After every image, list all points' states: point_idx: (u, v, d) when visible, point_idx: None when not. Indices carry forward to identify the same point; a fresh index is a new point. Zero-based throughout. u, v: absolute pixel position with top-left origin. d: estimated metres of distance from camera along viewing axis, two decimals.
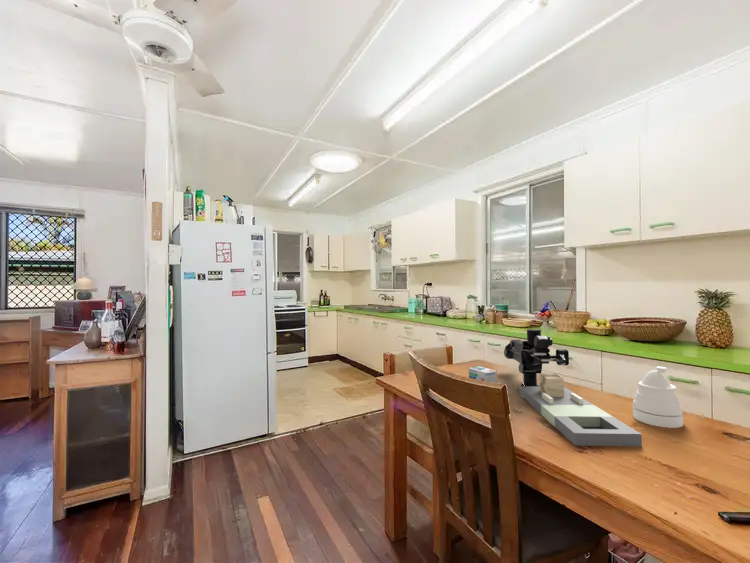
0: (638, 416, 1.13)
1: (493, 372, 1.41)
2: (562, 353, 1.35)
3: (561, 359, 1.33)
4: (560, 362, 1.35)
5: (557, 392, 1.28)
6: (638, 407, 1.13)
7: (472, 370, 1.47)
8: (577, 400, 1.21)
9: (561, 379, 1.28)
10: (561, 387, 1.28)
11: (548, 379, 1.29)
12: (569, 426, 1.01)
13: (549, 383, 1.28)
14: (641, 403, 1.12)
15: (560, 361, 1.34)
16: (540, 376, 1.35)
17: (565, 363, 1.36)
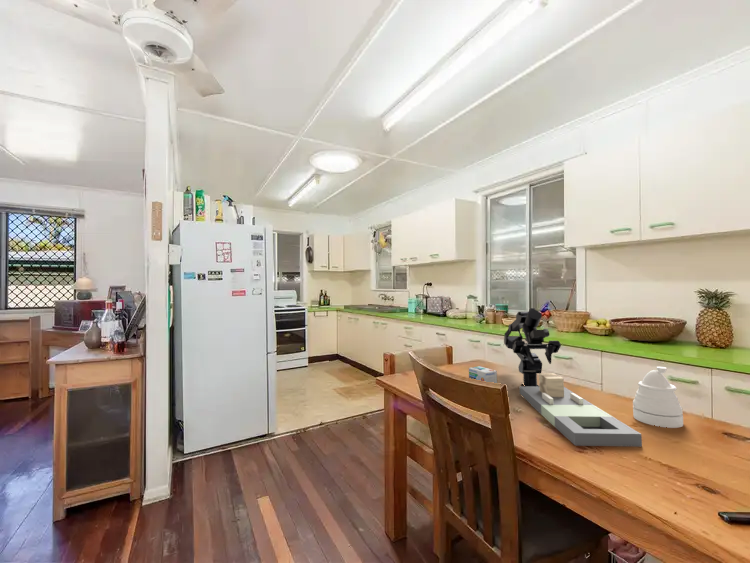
0: (638, 416, 1.13)
1: (493, 372, 1.41)
2: (551, 349, 1.43)
3: (548, 356, 1.42)
4: (546, 355, 1.45)
5: (557, 392, 1.28)
6: (638, 407, 1.13)
7: (472, 370, 1.47)
8: (577, 400, 1.21)
9: (561, 379, 1.28)
10: (561, 387, 1.28)
11: (548, 379, 1.29)
12: (569, 426, 1.01)
13: (549, 383, 1.28)
14: (641, 403, 1.12)
15: (547, 355, 1.44)
16: (540, 376, 1.35)
17: None
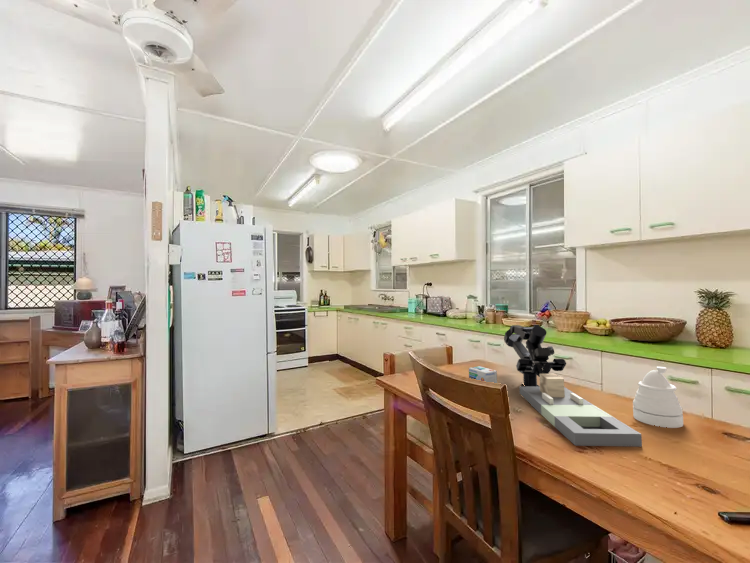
0: (638, 416, 1.13)
1: (493, 372, 1.41)
2: (548, 367, 1.39)
3: None
4: (543, 373, 1.40)
5: (558, 392, 1.28)
6: (638, 407, 1.13)
7: (472, 370, 1.47)
8: (577, 400, 1.21)
9: (562, 379, 1.28)
10: (562, 387, 1.28)
11: (548, 379, 1.28)
12: (569, 426, 1.01)
13: (550, 383, 1.28)
14: (641, 403, 1.12)
15: None
16: (540, 376, 1.35)
17: (548, 371, 1.42)
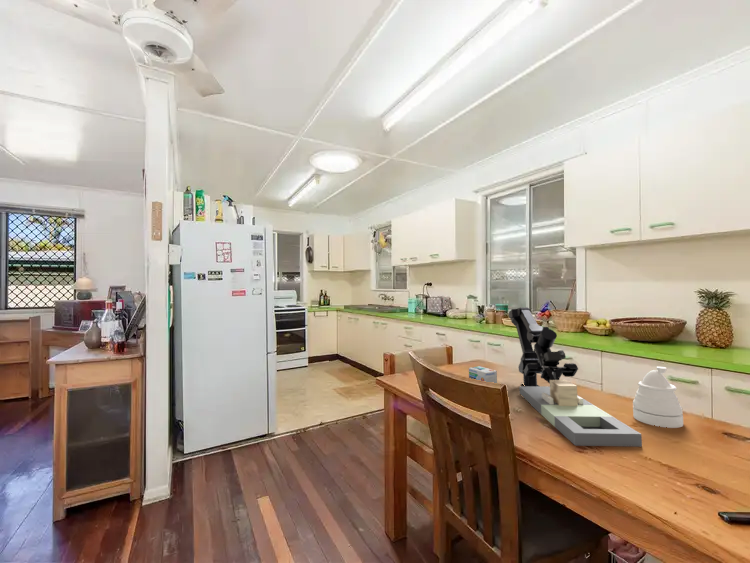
0: (638, 416, 1.13)
1: (493, 372, 1.41)
2: (559, 373, 1.29)
3: None
4: (553, 379, 1.31)
5: (570, 401, 1.18)
6: (638, 407, 1.13)
7: (472, 370, 1.47)
8: None
9: (574, 387, 1.18)
10: (574, 395, 1.18)
11: (560, 387, 1.18)
12: (569, 426, 1.01)
13: (561, 391, 1.18)
14: (641, 403, 1.12)
15: None
16: (551, 383, 1.25)
17: None
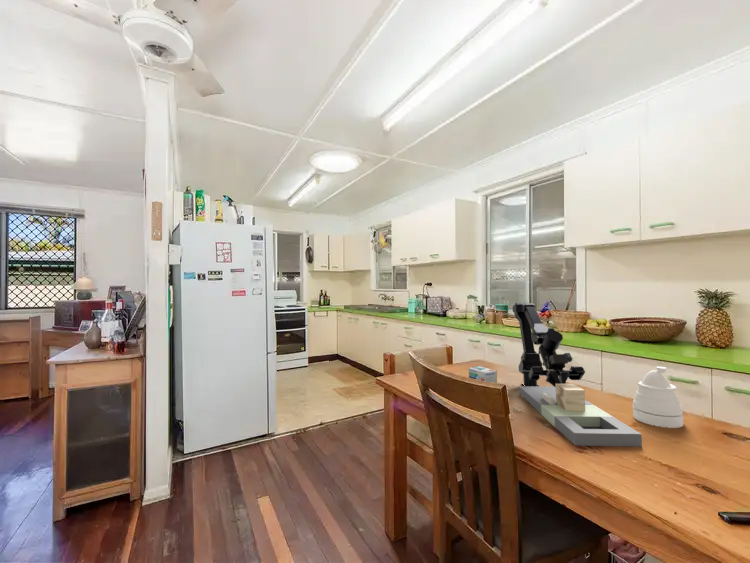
0: (638, 416, 1.13)
1: (493, 372, 1.41)
2: (565, 376, 1.24)
3: None
4: None
5: (577, 405, 1.13)
6: (638, 407, 1.13)
7: (472, 370, 1.47)
8: None
9: (582, 391, 1.13)
10: (582, 400, 1.13)
11: (567, 391, 1.13)
12: (569, 426, 1.01)
13: (568, 395, 1.13)
14: (641, 403, 1.12)
15: (560, 383, 1.25)
16: (557, 387, 1.20)
17: None
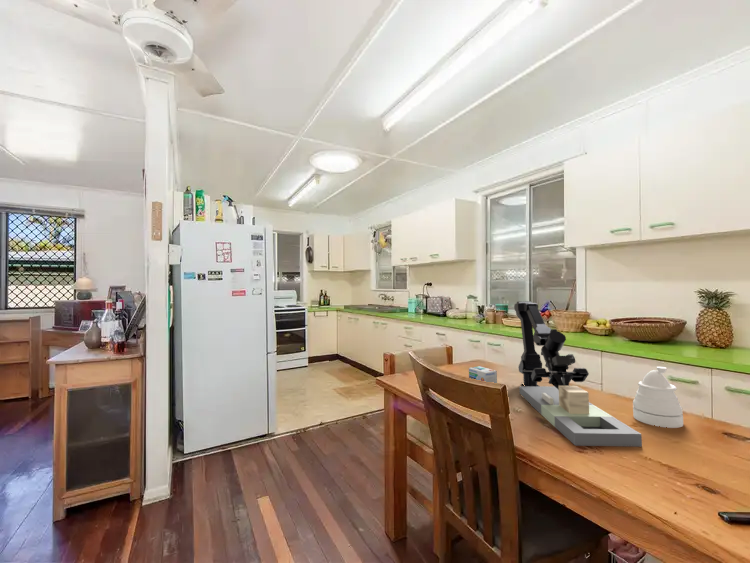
0: (638, 416, 1.13)
1: (493, 372, 1.41)
2: (568, 378, 1.22)
3: None
4: None
5: (581, 408, 1.11)
6: (638, 407, 1.13)
7: (472, 370, 1.47)
8: None
9: (586, 393, 1.11)
10: (586, 402, 1.10)
11: (570, 393, 1.11)
12: (569, 426, 1.01)
13: (572, 398, 1.11)
14: (641, 403, 1.12)
15: (563, 385, 1.23)
16: (560, 389, 1.18)
17: None
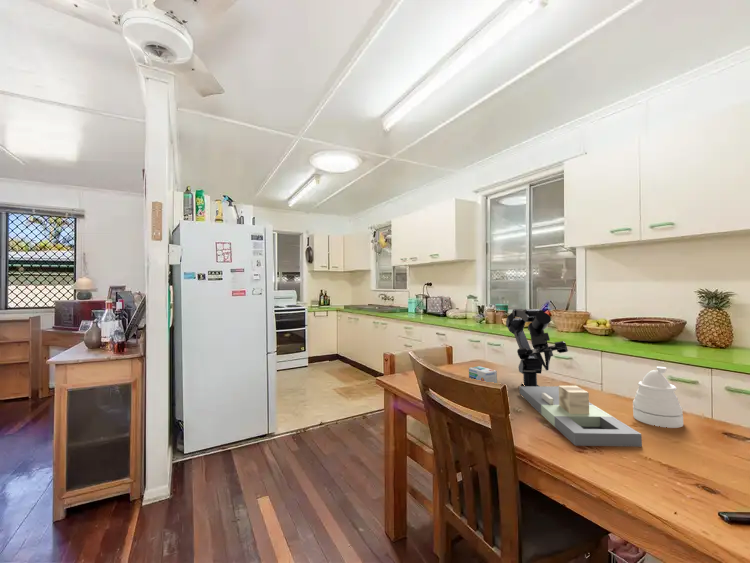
0: (638, 416, 1.13)
1: (493, 372, 1.41)
2: (547, 354, 1.37)
3: None
4: None
5: (581, 408, 1.11)
6: (638, 407, 1.13)
7: (472, 370, 1.47)
8: None
9: (586, 393, 1.11)
10: (586, 402, 1.10)
11: (571, 393, 1.11)
12: (569, 426, 1.01)
13: (572, 398, 1.11)
14: (641, 403, 1.12)
15: None
16: (560, 389, 1.17)
17: (552, 355, 1.39)
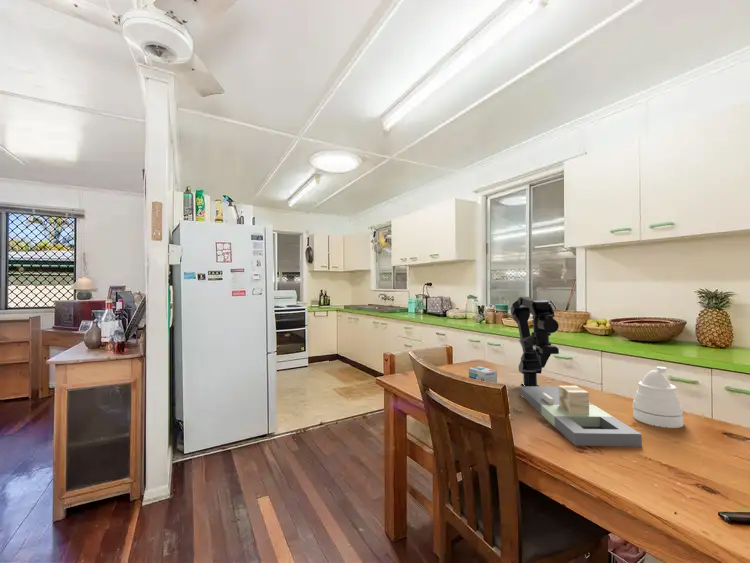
0: (638, 416, 1.13)
1: (493, 372, 1.41)
2: (538, 354, 1.39)
3: None
4: None
5: (581, 408, 1.11)
6: (638, 407, 1.13)
7: (472, 370, 1.47)
8: None
9: (586, 393, 1.11)
10: (586, 402, 1.10)
11: (571, 393, 1.11)
12: (569, 426, 1.01)
13: (572, 398, 1.11)
14: (641, 403, 1.12)
15: None
16: (560, 389, 1.17)
17: None
